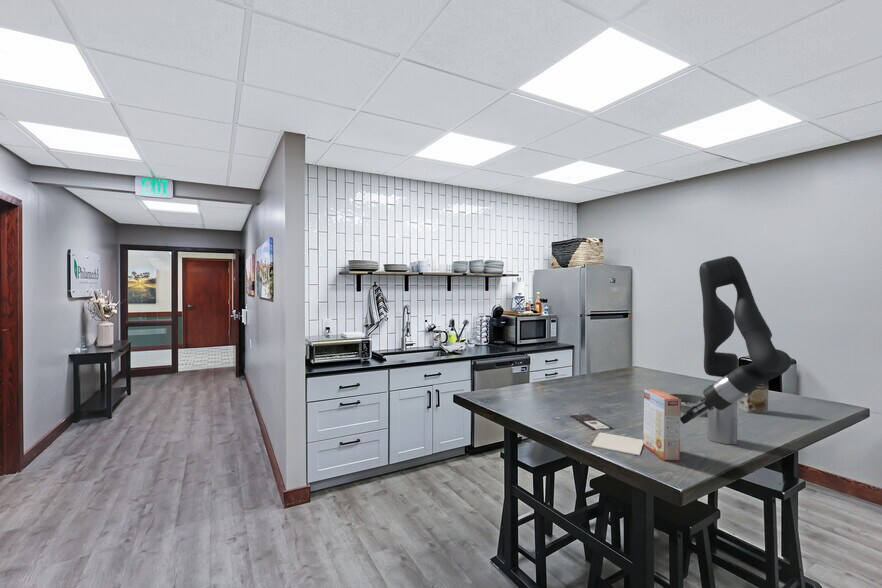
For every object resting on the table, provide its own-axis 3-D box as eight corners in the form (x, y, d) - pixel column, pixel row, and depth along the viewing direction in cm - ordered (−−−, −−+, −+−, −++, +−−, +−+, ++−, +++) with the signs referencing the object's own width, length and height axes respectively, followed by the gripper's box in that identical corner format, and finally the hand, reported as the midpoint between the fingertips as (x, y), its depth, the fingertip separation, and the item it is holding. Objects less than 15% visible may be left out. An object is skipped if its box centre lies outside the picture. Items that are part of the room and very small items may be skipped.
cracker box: (681, 461, 138) (681, 398, 138) (663, 461, 138) (663, 398, 138) (659, 445, 152) (659, 388, 152) (642, 445, 152) (643, 388, 152)
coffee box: (747, 412, 192) (747, 378, 192) (738, 408, 199) (739, 375, 199) (768, 413, 192) (769, 378, 191) (759, 409, 198) (759, 375, 198)
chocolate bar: (588, 414, 188) (612, 427, 170) (588, 416, 188) (612, 429, 170) (570, 415, 186) (592, 428, 168) (570, 417, 186) (592, 431, 168)
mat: (644, 441, 156) (644, 440, 156) (639, 455, 143) (639, 454, 143) (599, 433, 164) (599, 432, 164) (591, 446, 151) (591, 445, 151)
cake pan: (726, 420, 182) (727, 409, 182) (663, 412, 193) (663, 402, 193) (717, 405, 205) (717, 396, 204) (661, 399, 215) (661, 391, 215)
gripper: (722, 379, 136) (681, 407, 146) (707, 385, 128) (665, 415, 138) (741, 398, 132) (698, 426, 142) (727, 406, 124) (682, 435, 134)
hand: (682, 421), depth 140 cm, fingers closed
